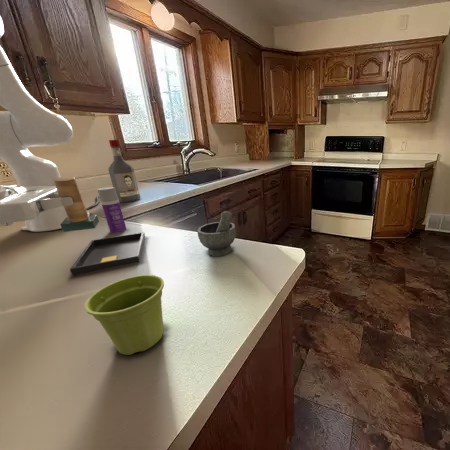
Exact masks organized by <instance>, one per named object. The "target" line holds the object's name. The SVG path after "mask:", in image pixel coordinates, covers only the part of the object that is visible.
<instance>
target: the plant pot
mask: <svg viewBox="0 0 450 450" xmlns="http://www.w3.org/2000/svg"><path fill="white" fill-rule="evenodd" d="M164 286H165V281H164V279H163V278H162V277H161V276H158V275H154V274H141V275H134V276H130V277H126V278H122V279H119V280H116V281H114V282H112V283H110V284H107V285H105V286H103V287H101V288H100V289H98V290H97V291H95V292H94V293H93V294H91V295H90V296H89V297H88V298H87V299H86V301H85V303H84V305H83V307H84V311H85V312H86V313H87V314H88V315H91V316H93V318H94V319H95V320H96V321H98V322H99V324H100V326H102V328H103V329H104V331H105V332H106V334H107V336H108V337H109V339H110V340H111V342H112V343H113V345H114V347H115V349H116V350H117V351H118V353H120V354H122V355H127V356H130V355H133V354H135V353H138V352H145V351H147V350H149V349H151V348H152V347H153V346H155V345H156V344H157V343H158V342H159V341H160V340H161V338H162V337H163V334H164V321H163V319H164V317H163V310H162V309H163V307H162V296H163V289H164Z"/></svg>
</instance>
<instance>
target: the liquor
mask: <svg viewBox="0 0 450 450" xmlns="http://www.w3.org/2000/svg"><path fill="white" fill-rule="evenodd" d="M108 143H109V147H110V148H111V152H112V157H113V161H112V162H111V164H110V165H109V167H108V174H109V177H110V178H109V179H110V181H111V185H112V187H114V188H115V191H116V194H117V197H118V200H119V203H131V202H134V201H139V200H141V194H140V190H139V185H138V181H137V177H136V173H135V169H134V167H133V166H132V165H131V164H129V163H128V162H127V161H126V160H125V159H124V158H123V155H122V151H121V147H120V142H119V140H118V139H109V140H108Z"/></svg>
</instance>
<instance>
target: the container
mask: <svg viewBox="0 0 450 450" xmlns="http://www.w3.org/2000/svg"><path fill="white" fill-rule="evenodd" d="M97 193H98V195H99V197H98V198H99V202H100V204H101V208H102V211H103V215H104V217H105V220H106V225H107V227H108V230H109V233H110V234H119V233H122V232H126V231H127V226H126V222H125V217H124V215H123V211H122V207H121V204H120V203H121V202H119V200H118V197H117V194H116V191H115V188H114V187H113V186H106V187H101V188H97Z"/></svg>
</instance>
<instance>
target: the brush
mask: <svg viewBox="0 0 450 450" xmlns="http://www.w3.org/2000/svg"><path fill="white" fill-rule="evenodd" d="M53 181H54V184H55V186H56V189H57V191H58V194H59V196H60V198H61V197H68V196H72V197H73V198H74V201H75V203H74V204H72V205H69V206H64V209H65V211H66V214H67V216H68V217H66V218H65V220H64V221H63V222H62V223H61V224H60V225H61V227H62V228H61V230H62V232H63V233H66V232H73V231H83V230H84V231H85V230H93V229H96V228H97V226H98V225H99V222H100V220H99V218H98V214H90V215H88V214H87V211H88V210H86V205H85V203H84V200H83V197H82V194H81V191H80V189H79V186H78V183H77V180H76V178H75V176H61V177H60V178H56V179H54V180H53Z"/></svg>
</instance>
